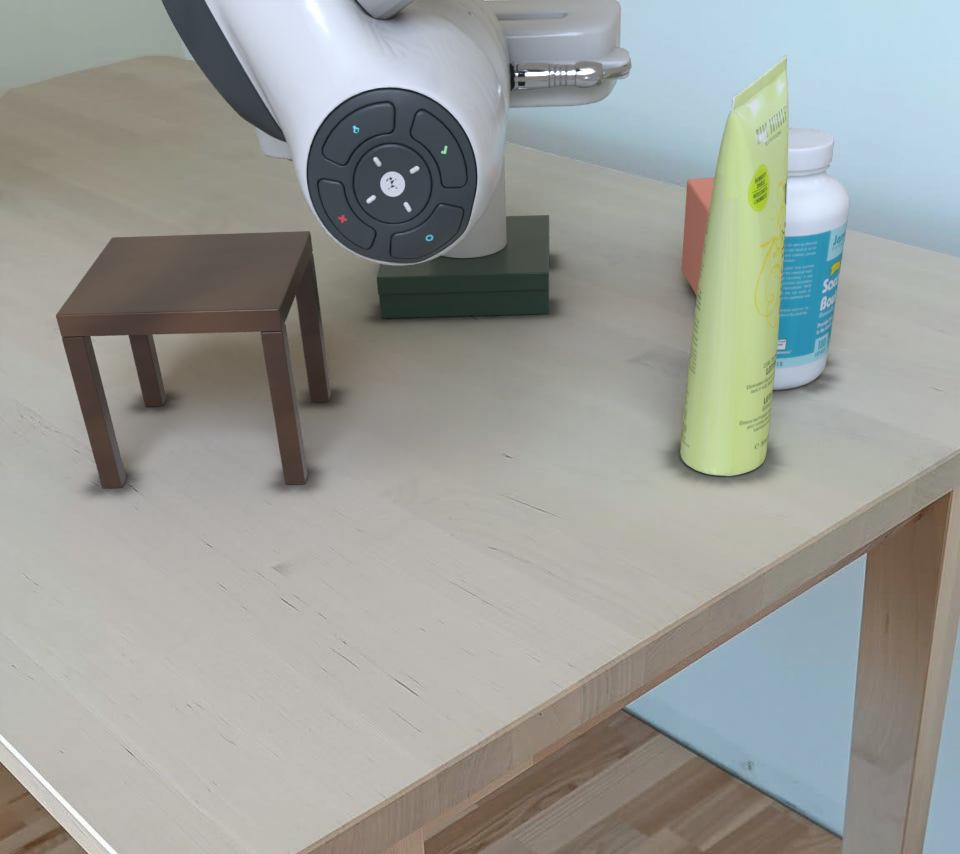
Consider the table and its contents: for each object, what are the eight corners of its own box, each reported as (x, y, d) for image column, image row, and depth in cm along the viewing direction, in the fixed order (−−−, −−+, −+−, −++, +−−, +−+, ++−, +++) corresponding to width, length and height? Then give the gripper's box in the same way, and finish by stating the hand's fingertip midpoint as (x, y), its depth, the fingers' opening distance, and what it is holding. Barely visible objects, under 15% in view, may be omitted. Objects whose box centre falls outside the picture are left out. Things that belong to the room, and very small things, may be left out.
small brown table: (101, 488, 74) (54, 315, 67) (149, 398, 83) (111, 236, 76) (305, 484, 73) (278, 308, 67) (331, 394, 82) (310, 230, 75)
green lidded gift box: (380, 320, 91) (376, 277, 88) (395, 260, 99) (392, 219, 97) (548, 316, 90) (548, 272, 88) (549, 256, 98) (549, 214, 96)
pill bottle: (836, 393, 79) (873, 153, 70) (716, 398, 79) (737, 160, 70) (812, 344, 84) (844, 116, 75) (700, 349, 85) (718, 122, 75)
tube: (784, 476, 72) (837, 81, 58) (699, 489, 71) (732, 93, 57) (746, 432, 76) (787, 54, 62) (665, 445, 75) (689, 65, 61)
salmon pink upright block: (710, 337, 86) (721, 206, 80) (674, 273, 95) (682, 151, 89) (823, 328, 86) (842, 197, 81) (778, 265, 95) (792, 143, 89)
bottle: (427, 259, 91) (408, -8, 79) (432, 232, 95) (415, -25, 83) (505, 257, 90) (498, -11, 79) (507, 230, 94) (500, -29, 83)
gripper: (636, -1, 60) (624, -54, 70) (208, 13, 61) (256, -41, 71) (630, 147, 64) (620, 77, 74) (231, 158, 65) (273, 88, 75)
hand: (439, 19), depth 73 cm, fingers open, 8 cm apart
